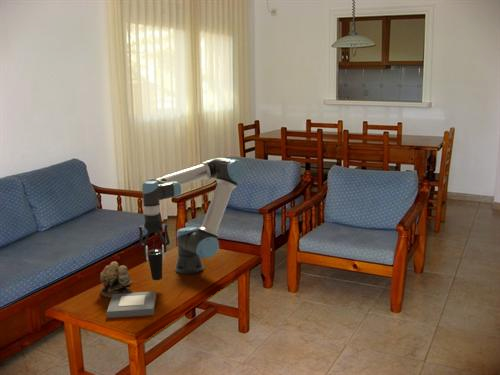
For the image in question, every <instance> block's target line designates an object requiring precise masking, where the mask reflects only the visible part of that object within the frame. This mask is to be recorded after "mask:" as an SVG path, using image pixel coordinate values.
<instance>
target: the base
mask: <svg viewBox="0 0 500 375" xmlns="http://www.w3.org/2000/svg"><path fill="white" fill-rule="evenodd" d="M156 292H157V291H156V290H154V291H153V290H152V291H139V292H138V291H137V292H133V293H121V294H113V295H112V298H111V299H110V301H109V303H108V307H107V310H106V318H107V319H113V318H116V319H117V318H128V317H141V316H142V317H143V316H154V314H155V306H156V300H157V293H156Z"/></svg>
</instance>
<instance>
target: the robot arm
mask: <svg viewBox="0 0 500 375" xmlns="http://www.w3.org/2000/svg"><path fill="white" fill-rule="evenodd" d="M246 168H247V167H246V165H245V164H244V162H243V161H241V160H239V159H236V158H228V157H223V156H221V157H214V158H211V159H209V160H205V161H202V162H200V164H198V165H196V166H192V167H189V168H185V169H182V170H180V171H177V172H173V173H171V174H166V175H164V176H160V177H157V178H151V177H150V178H147V179H146V180H145V181H144V182H143V183H142V186H141V187H142V188H141V189H142V190H141V192H142V200H143V202H142V203H143V213H144V224H143V225H139V226H138V230H139V241H138V242H139V244H138V247H141V248H142V250H143V254H145V256H146V257H145V258H146V261H148V262H149V259H148V255H147V253H148V251H149V247H148V245H147V243H148V240H149V238H150V235H151V234H152V233H155V234H156V233H157V236H158V237H159V240H160V242H161V244H162V246H161V250H162V260H165V258H166V256H165V253H166V252H167V246H169V245H170V237H169V232H168V223H163V222H162V219H161V208H160V206H161V205H160V201H161V200H165V199H166V200H167V199H172V198H173V199H174V198H177V197H179V196H180V195H181V193H182V186H186V185H188V184H192V183H194V182H198V181H201V180H203V179H204V180H209V179H215V180H216V183H217V185H216V187H215V190H214V191H213V194H212V198H211V201H210V203H209V205H208V208H207V211H206V213H205V215H204V219H203V221H202V225H201V226H198V227H197V226H187V227H183V228H179V229H177V231H176V244H177V259H176V262H175V269H174V270H175V272H177V273H178V274H184V275H189V274H191V275H192V274H197V273H200V272H202V271H203V270H204V263H203V260H202V259H211V258H213V257H214V256H216V255H217V253H218V251H219V249H220V242H219V240H218V239H219V233H218V231H219V227H220V225H221V222H222V220H223V217H224V214H225V211H226V208H227V206H228V204H229V201H230V198H231V196H232V195H231V194H232V192H233V190H234V189H236V188H237V187H238V184H239V183H241V182H243V181H244V180H245V178H246V175H247V169H246ZM161 228H162V229H163V230H164V236H165V238H164V236H163V234H162V232H161ZM144 229H145V230H146V236H145V239H144V241H143V238H144V237H143V235H144V234H143V232H144ZM201 270H202V271H201ZM199 271H200V272H199Z"/></svg>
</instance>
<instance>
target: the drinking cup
mask: <svg viewBox="0 0 500 375" xmlns="http://www.w3.org/2000/svg"><path fill="white" fill-rule="evenodd" d="M152 241H153V242H152V243H153V249H150V250H148V253H147V255H148V263H149V268H150V269H149V270H150V274H151V280H153V281H160V280H162V279H163V253H162V249H159V248H156V240H155V239H153V240H152Z"/></svg>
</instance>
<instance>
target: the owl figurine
mask: <svg viewBox="0 0 500 375" xmlns="http://www.w3.org/2000/svg"><path fill="white" fill-rule="evenodd" d="M99 276H100V277H99V278H100V281H101V284H102V286H103V287H104V288H101V290H100V291H99V296H100V297H102V298H104V299H108V300H111V298H112V295H113V294H121V293H134V292H133V290H131V289H130V287H131V286H132V284H134V281H133V280H131V275H130V273H129V272H128V267H127V266H126V265H119V263H118V262H117V261H111V262H110V264H108V265H105V267H104V268H103V270H102V271H101V272H100V275H99ZM130 280H131V281H130Z"/></svg>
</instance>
